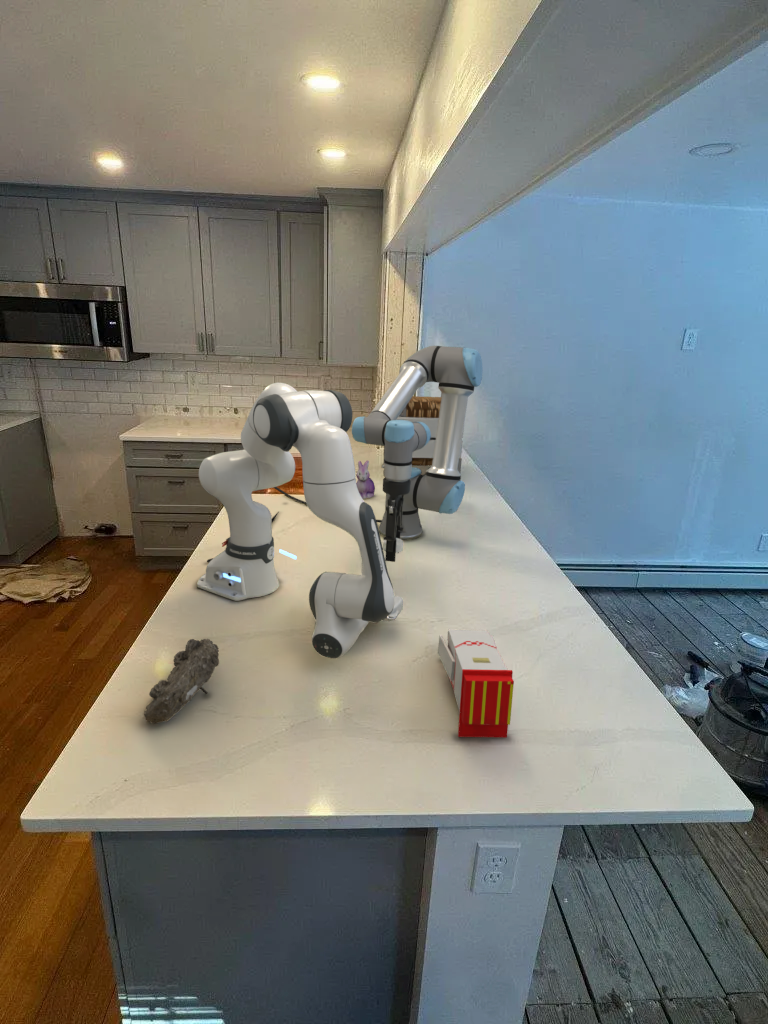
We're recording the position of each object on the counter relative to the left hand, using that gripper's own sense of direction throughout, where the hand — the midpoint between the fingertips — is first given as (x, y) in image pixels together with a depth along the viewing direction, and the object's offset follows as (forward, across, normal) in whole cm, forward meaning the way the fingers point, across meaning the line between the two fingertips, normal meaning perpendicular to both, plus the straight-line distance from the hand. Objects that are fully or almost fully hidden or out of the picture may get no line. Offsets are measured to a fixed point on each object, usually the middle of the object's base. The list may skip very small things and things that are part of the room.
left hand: (372, 587), depth 148 cm
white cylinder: (+16, 0, -6) cm, 18 cm away
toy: (-25, -31, +6) cm, 40 cm away
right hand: (+16, 0, -2) cm, 17 cm away
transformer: (+133, +22, +6) cm, 135 cm away
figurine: (+88, +34, +6) cm, 94 cm away
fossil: (-46, +23, +6) cm, 52 cm away
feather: (+52, +56, +6) cm, 76 cm away
